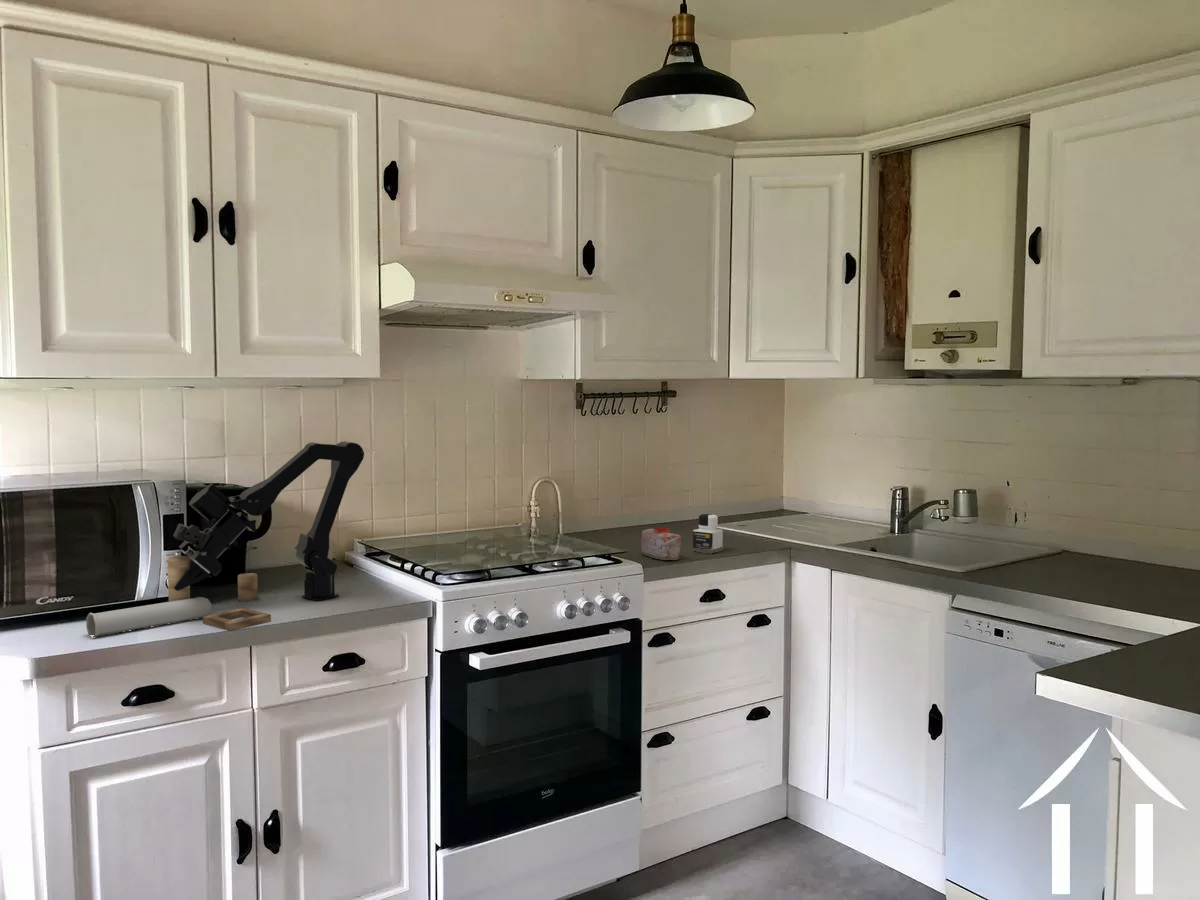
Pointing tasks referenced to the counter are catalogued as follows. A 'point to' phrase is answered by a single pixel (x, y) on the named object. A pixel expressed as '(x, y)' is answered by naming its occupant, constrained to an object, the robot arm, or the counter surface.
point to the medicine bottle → (708, 533)
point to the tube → (146, 616)
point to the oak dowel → (177, 577)
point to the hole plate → (249, 619)
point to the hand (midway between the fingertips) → (172, 586)
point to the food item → (660, 542)
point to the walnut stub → (247, 587)
